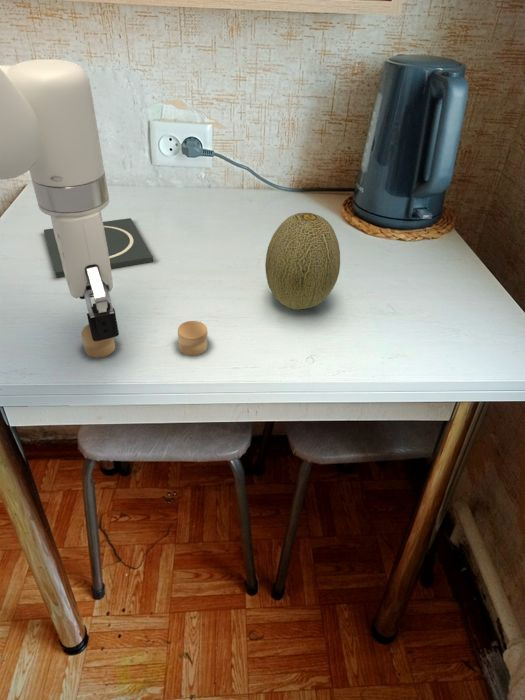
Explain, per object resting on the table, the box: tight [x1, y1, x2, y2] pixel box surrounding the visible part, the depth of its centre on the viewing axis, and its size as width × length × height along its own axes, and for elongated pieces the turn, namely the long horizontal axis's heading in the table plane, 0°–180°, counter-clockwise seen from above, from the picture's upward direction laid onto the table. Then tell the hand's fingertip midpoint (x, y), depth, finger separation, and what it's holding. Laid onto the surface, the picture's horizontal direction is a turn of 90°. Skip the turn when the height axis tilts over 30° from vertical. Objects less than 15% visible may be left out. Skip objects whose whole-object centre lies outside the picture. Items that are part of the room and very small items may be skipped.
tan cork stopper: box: [177, 320, 208, 356], centre depth 70 cm, size 4×4×3 cm
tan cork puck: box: [80, 324, 116, 359], centre depth 69 cm, size 4×4×3 cm
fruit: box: [264, 212, 341, 310], centre depth 76 cm, size 11×11×15 cm
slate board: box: [43, 217, 154, 278], centre depth 91 cm, size 16×16×1 cm
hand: (98, 315), depth 67 cm, fingers open, 9 cm apart
